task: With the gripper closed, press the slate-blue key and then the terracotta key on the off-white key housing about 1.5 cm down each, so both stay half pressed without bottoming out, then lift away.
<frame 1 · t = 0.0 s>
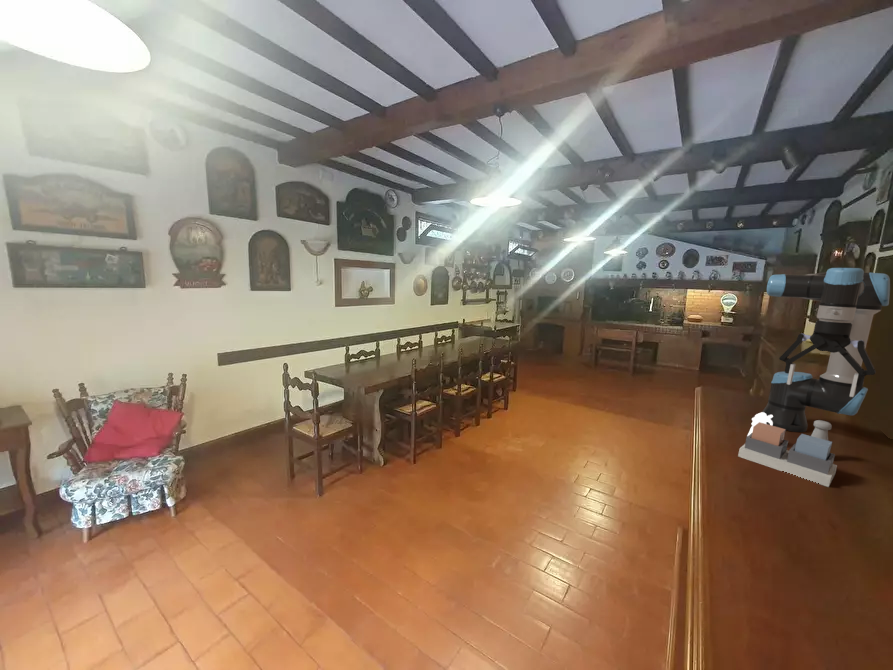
hand: (818, 389, 111), 28 cm above the table, tool pointing down, fingers open, 13 cm apart
slate blue key: (813, 447, 115), point 9 cm above the table, slide at 0.0 cm
terracotta key: (768, 434, 124), point 9 cm above the table, slide at 0.0 cm
salt shaker: (815, 456, 128), on the table
key housing: (784, 464, 121), on the table
figurine: (758, 443, 137), on the table
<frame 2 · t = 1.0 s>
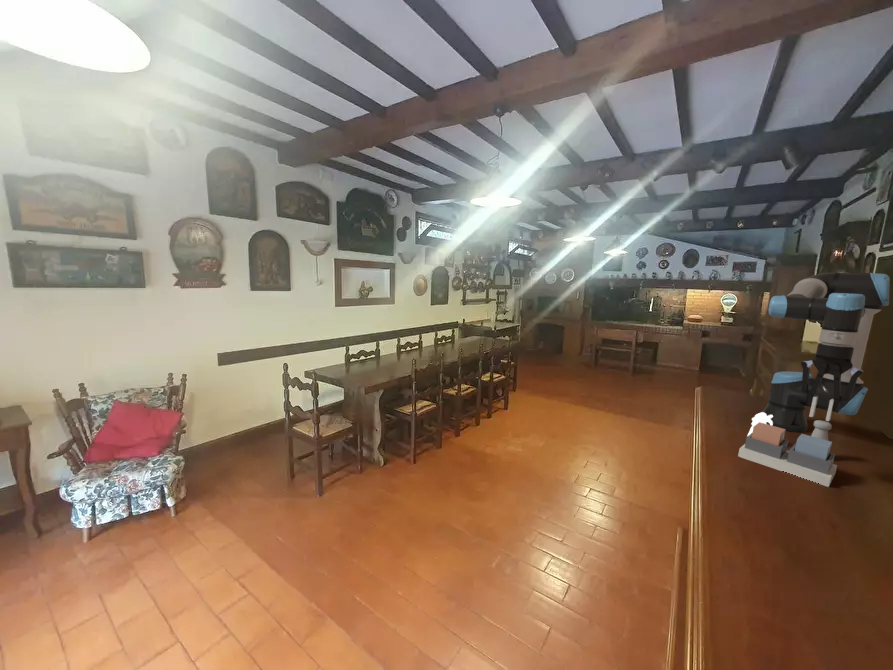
hand: (819, 417, 114), 19 cm above the table, tool pointing down, fingers open, 3 cm apart
nothing on the table moved.
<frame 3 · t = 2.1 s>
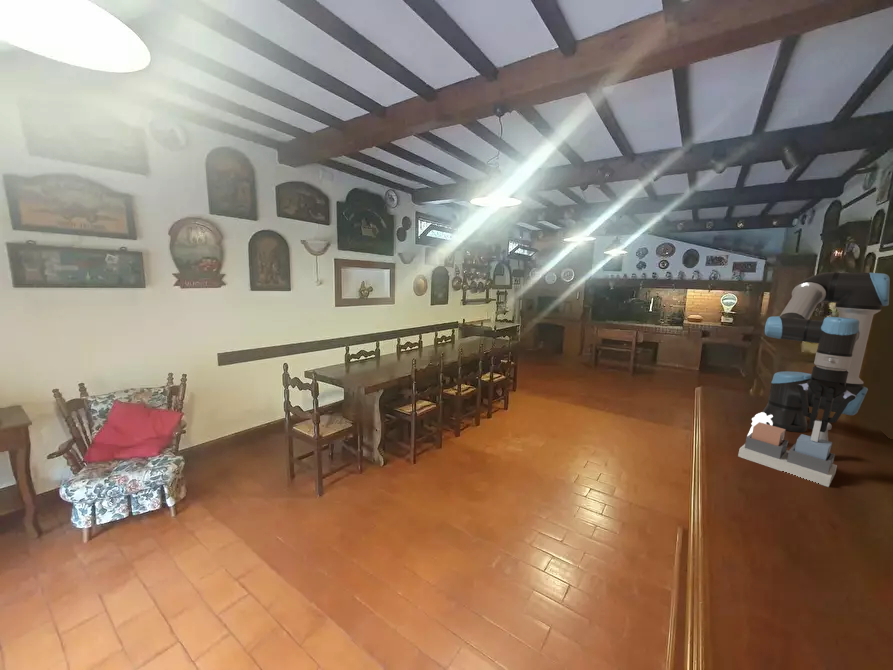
hand: (814, 439, 115), 11 cm above the table, tool pointing down, fingers closed
slate blue key: (812, 448, 115), point 8 cm above the table, slide at 0.1 cm, touching gripper
everything else where it was.
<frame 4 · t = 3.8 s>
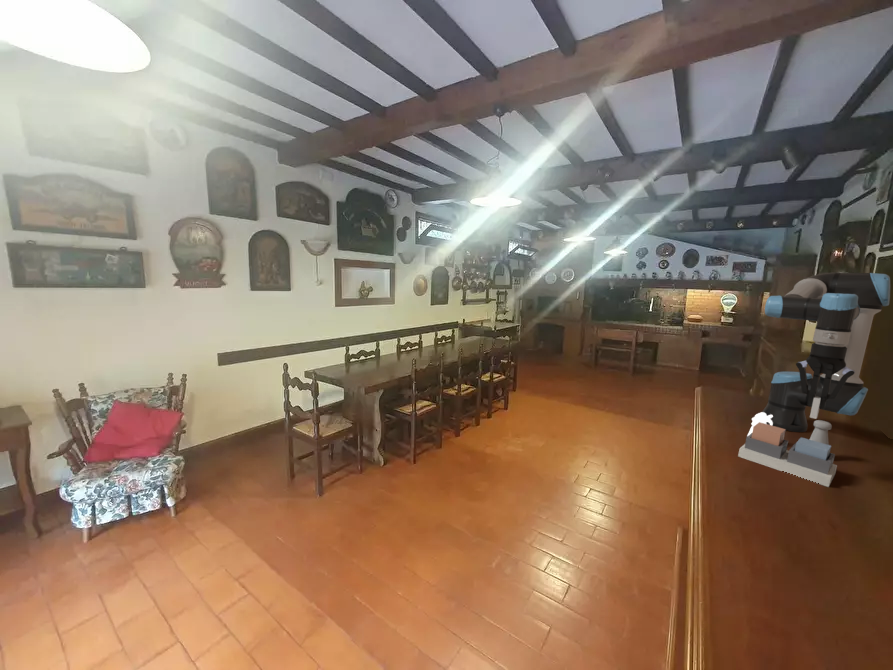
hand: (813, 417, 115), 18 cm above the table, tool pointing down, fingers closed
slate blue key: (812, 451, 116), point 7 cm above the table, slide at 1.3 cm
everything else where it was.
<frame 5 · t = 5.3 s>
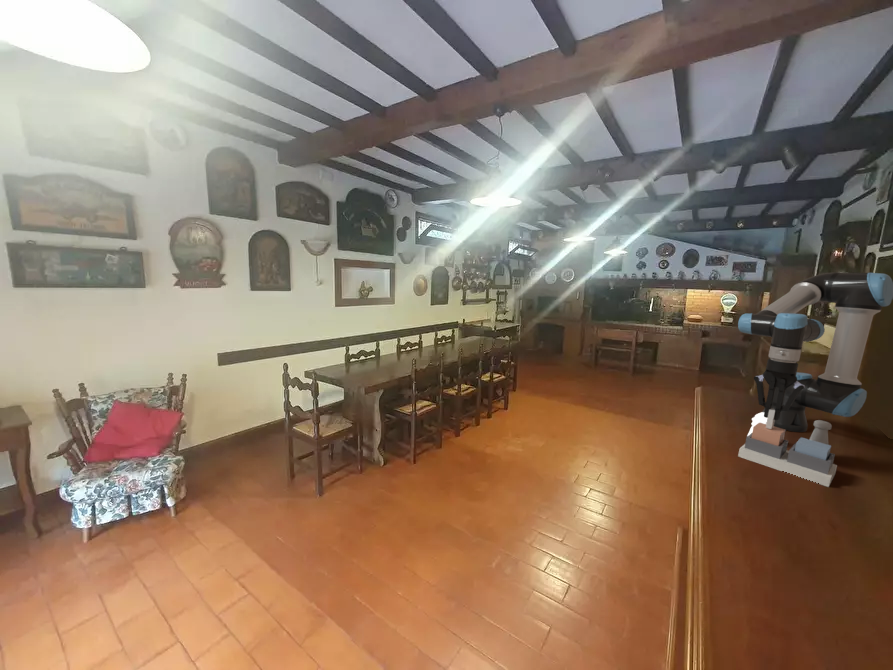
hand: (769, 427, 123), 11 cm above the table, tool pointing down, fingers closed
terracotta key: (768, 435, 124), point 8 cm above the table, slide at 0.1 cm, touching gripper
everything else where it was.
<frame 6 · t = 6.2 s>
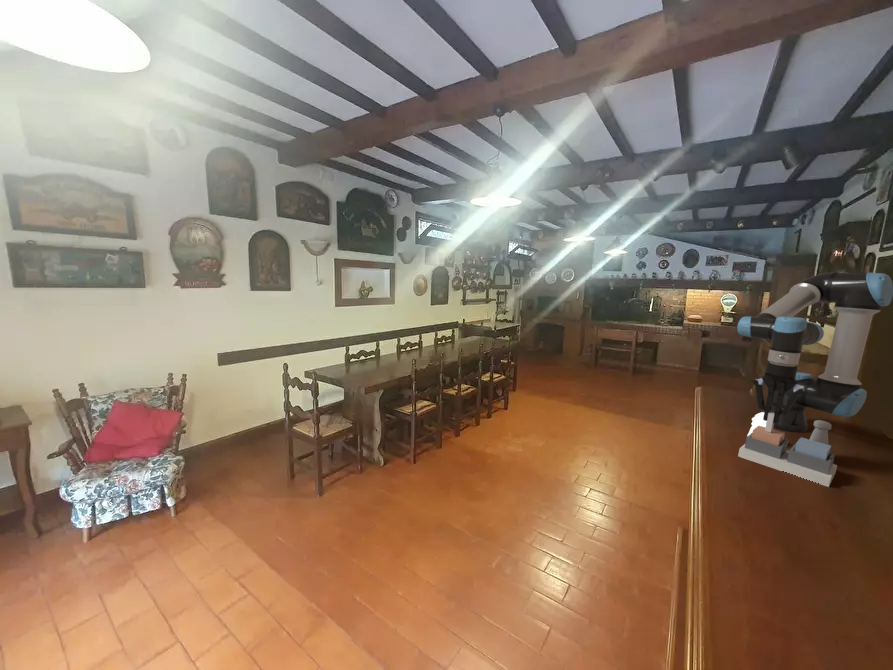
hand: (768, 430, 124), 10 cm above the table, tool pointing down, fingers closed
terracotta key: (767, 438, 124), point 7 cm above the table, slide at 1.2 cm, touching gripper
everything else where it was.
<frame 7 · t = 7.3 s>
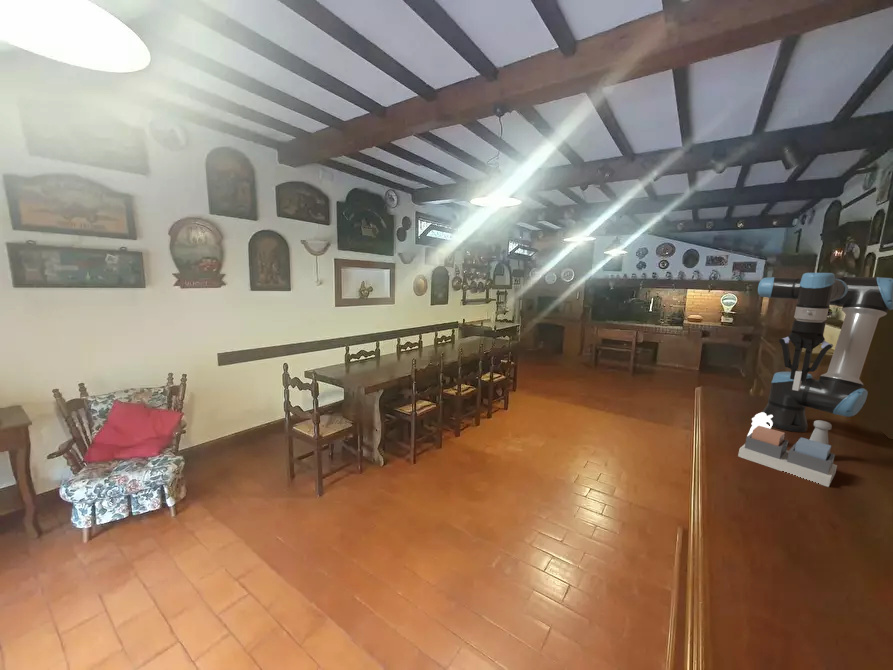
hand: (796, 389, 123), 24 cm above the table, tool pointing down, fingers closed
terracotta key: (767, 438, 124), point 7 cm above the table, slide at 1.3 cm
everything else where it was.
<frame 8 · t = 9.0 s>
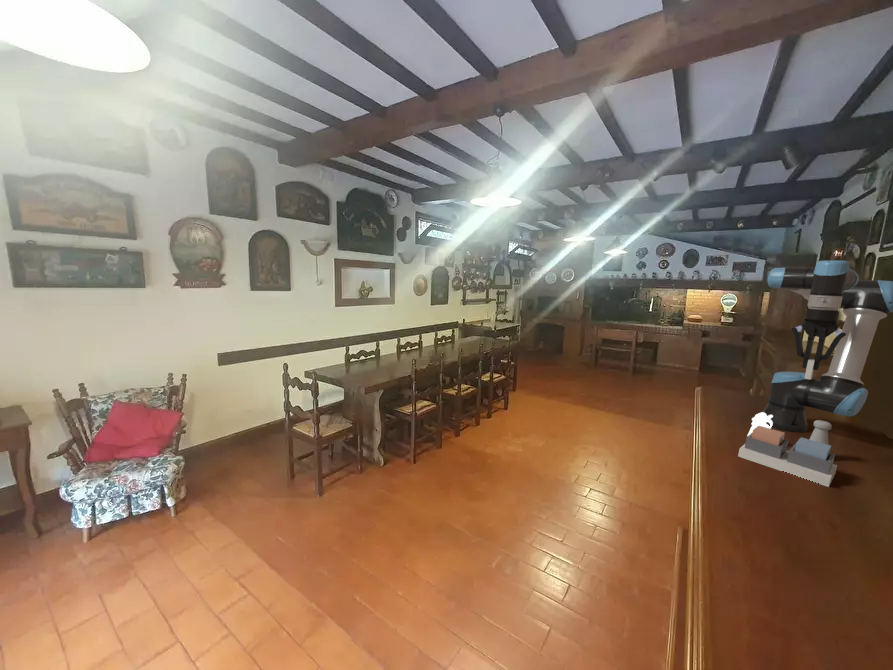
hand: (808, 378, 122), 28 cm above the table, tool pointing down, fingers closed
nothing on the table moved.
at the end: slate blue key slide at 1.3 cm; terracotta key slide at 1.3 cm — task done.
